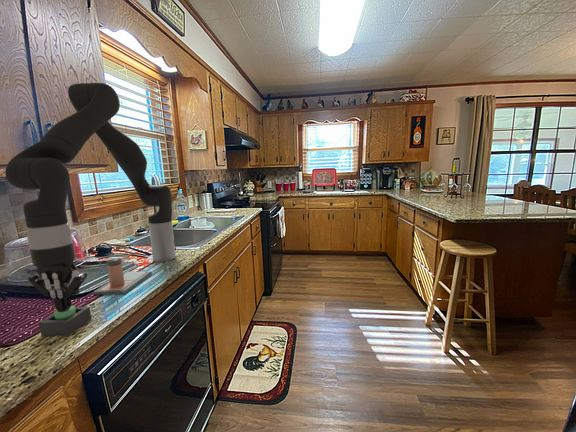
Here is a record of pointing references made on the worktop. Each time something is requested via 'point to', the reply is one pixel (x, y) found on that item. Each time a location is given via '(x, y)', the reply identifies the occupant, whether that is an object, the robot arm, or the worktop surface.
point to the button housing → (65, 323)
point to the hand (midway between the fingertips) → (64, 310)
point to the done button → (65, 314)
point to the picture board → (130, 282)
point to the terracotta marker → (115, 272)
